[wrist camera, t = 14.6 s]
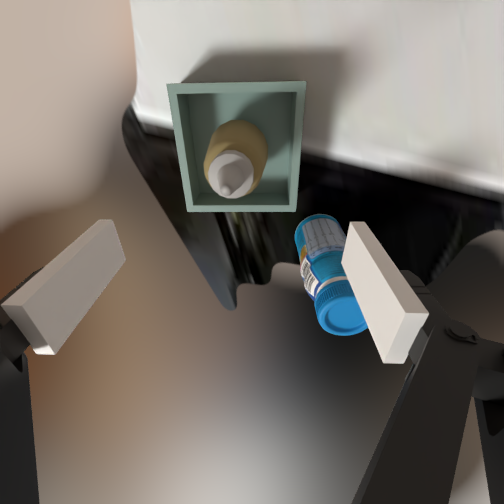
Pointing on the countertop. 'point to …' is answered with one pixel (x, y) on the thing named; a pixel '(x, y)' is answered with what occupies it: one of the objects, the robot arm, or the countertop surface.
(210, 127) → the box
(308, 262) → the beverage bottle
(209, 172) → the squeeze bottle
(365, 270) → the robot arm
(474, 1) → the countertop surface
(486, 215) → the countertop surface
